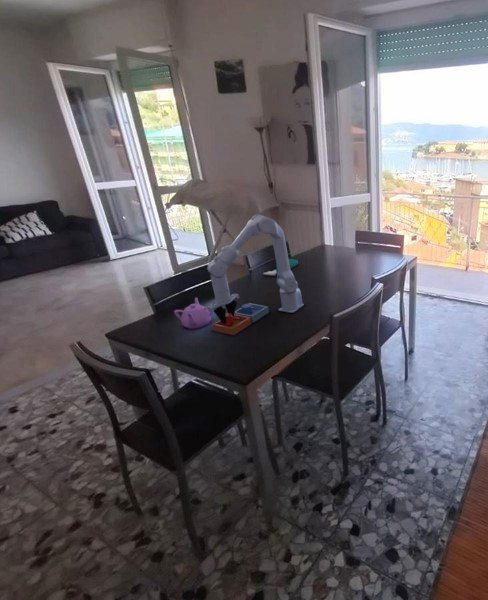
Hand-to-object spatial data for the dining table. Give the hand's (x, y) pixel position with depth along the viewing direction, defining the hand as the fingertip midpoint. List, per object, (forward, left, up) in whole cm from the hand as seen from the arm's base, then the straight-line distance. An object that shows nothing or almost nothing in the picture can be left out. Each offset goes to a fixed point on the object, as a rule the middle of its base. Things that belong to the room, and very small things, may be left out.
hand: (228, 320), depth 147 cm
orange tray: (0, +2, -3) cm, 3 cm away
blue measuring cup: (-12, +2, -2) cm, 12 cm away
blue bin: (-12, +2, -3) cm, 12 cm away
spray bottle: (-68, -23, -3) cm, 72 cm away
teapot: (+2, -15, -3) cm, 16 cm away
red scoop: (0, +2, -1) cm, 2 cm away
